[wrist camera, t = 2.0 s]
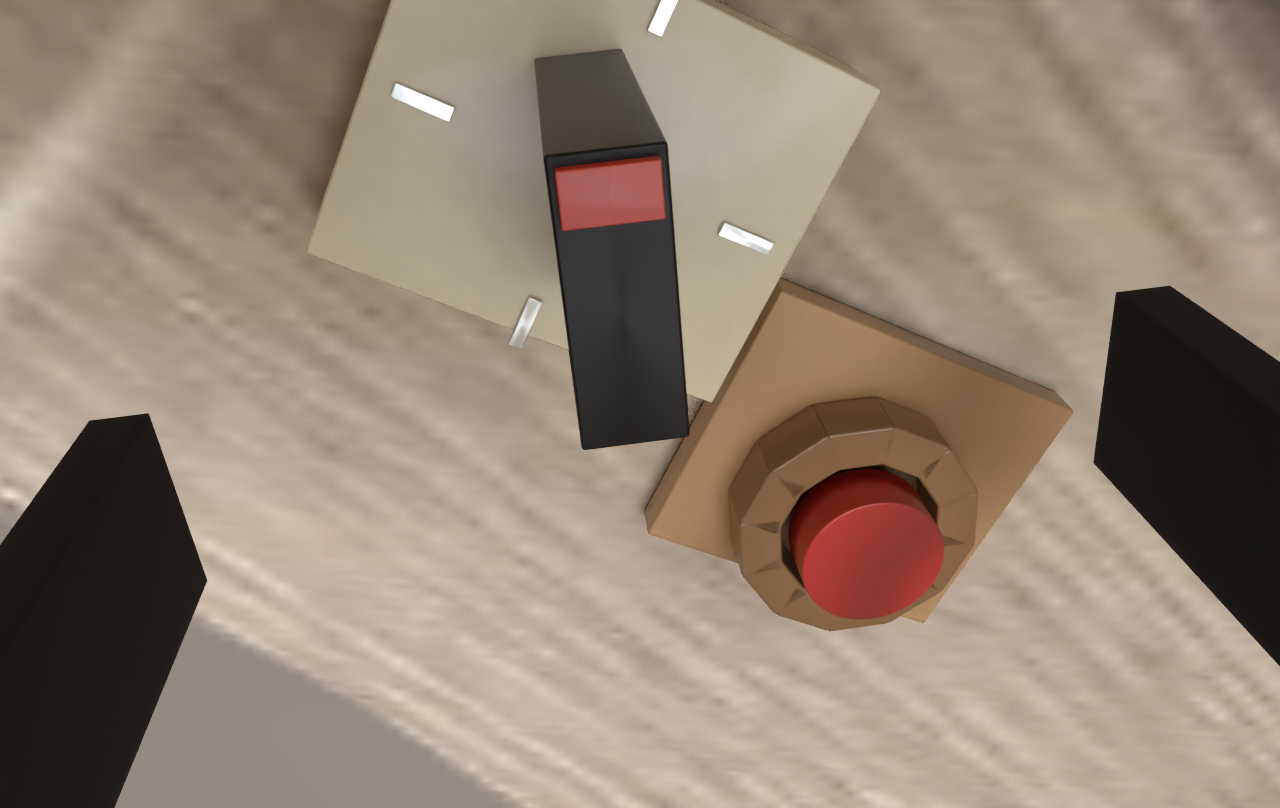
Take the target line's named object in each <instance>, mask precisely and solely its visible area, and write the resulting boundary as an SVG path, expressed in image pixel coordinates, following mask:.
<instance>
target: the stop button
mask: <svg viewBox="0 0 1280 808" xmlns="http://www.w3.org/2000/svg"><path fill="white" fill-rule="evenodd" d="M788 539H789V546H790V550H791V553H792V555H793V558H794V561H795V563H796V566H797V568H798V571H799V574H800V576H801V579H802V582H803V584H804V587H805V589H806V591H807V593H808V595H809V596H810V598H811V599H812V600H813V601H814V602H815V603H816V604H817V605H818V606H819V607H821V608H822V609H823V610H825V611H827V612H829V613H830V614H833V615H835V616H838V617H842V618H846V619H853V620H868V619H875V618H881V617H884V616H888V615H891V614H893V613H896V612H898V611H900V610H902V609H904V608H906V607H908V606H909V605H911V604H912V603H914V602H915V601H916V600H918V599H919V598H920V597H921V596H922V595H923V594H924V593H925V592H926V591H927V590H928V589H929V588H930V587H931V585H932V584H933V583H934V581H935V580H936V578H937V576H938V574H939V572H940V570H941V567H942V563H943V559H944V541H943V537H942V534H941V531H940V529H939V528H938V526H937V524H936V523H935V521H934V519H933V518H932V516H931V514H930V513H929V511H928V509H927V508H926V506H925V504H924V503H923V501H922V499H921V498H920V496H919V494H918V493H917V491H916V490H915V489H914V487H913V486H912V485H911V484H910V483H908V482H907V481H906V480H904V479H903V478H901V477H900V476H898V475H895V474H893V473H890V472H887V471H884V470H878V469H856V470H851V471H847V472H843V473H840V474H837V475H835V476H833V477H830V478H828V479H827V480H825V481H823V482H821V483H820V484H819V485H817V486H816V487H814V488H813V489H812V490H811V491H810V492H809V493H808V494H807V495H806V496H805V497H804V498H803V499H802V500H801V502H800V503H799V505H798V506H797V508H796V510H795V512H794V514H793V516H792V519H791V522H790V526H789V535H788Z"/></svg>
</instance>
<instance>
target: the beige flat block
mask: <svg viewBox="0 0 1280 808" xmlns="http://www.w3.org/2000/svg"><path fill="white" fill-rule="evenodd" d="M615 49H622V50H623V52H624V54H625V56H626V58H627V60H628V62H629V64H630V66H631V69H632V71H633V73H634V75H635V77H636V79H637V81H638V83H639V85H640V87H641V89H642V91H643V94H644V96H645V98H646V100H647V102H648V104H649V106H650V108H651V110H652V112H653V114H654V116H655V119H656V121H657V123H658V125H659V127H660V129H661V131H662V133H663V135H664V137H665V139H666V141H667V144H668V153H669V166H670V179H671V193H672V206H673V219H674V232H675V245H676V259H677V272H678V285H679V298H680V312H681V325H682V338H683V351H684V365H685V378H686V391H687V394H689V395H692V396H694V397H697V398H700V399H703V400H705V401H708V402H712V401H713V400H714V398H715V396H716V394H717V392H718V390H719V389H720V387H721V385H722V383H723V381H724V379H725V378H726V376H727V374H728V372H729V370H730V368H731V367H732V365H733V363H734V361H735V359H736V357H737V356H738V354H739V352H740V350H741V348H742V346H743V345H744V343H745V341H746V339H747V337H748V335H749V334H750V332H751V330H752V328H753V326H754V324H755V323H756V321H757V319H758V317H759V315H760V313H761V312H762V310H763V308H764V306H765V304H766V302H767V301H768V299H769V297H770V295H771V293H772V291H773V290H774V288H775V286H776V284H777V282H778V280H779V279H780V277H781V275H782V273H783V271H784V269H785V268H786V266H787V264H788V262H789V260H790V258H791V257H792V255H793V253H794V251H795V249H796V247H797V246H798V244H799V242H800V240H801V238H802V236H803V235H804V233H805V231H806V229H807V227H808V225H809V224H810V222H811V220H812V218H813V216H814V214H815V213H816V211H817V209H818V207H819V205H820V203H821V202H822V200H823V198H824V196H825V194H826V192H827V191H828V189H829V187H830V185H831V183H832V181H833V180H834V178H835V176H836V174H837V172H838V170H839V169H840V167H841V165H842V163H843V161H844V159H845V158H846V156H847V154H848V152H849V150H850V148H851V147H852V145H853V143H854V141H855V139H856V137H857V136H858V134H859V132H860V130H861V128H862V126H863V125H864V123H865V121H866V119H867V117H868V115H869V114H870V112H871V110H872V108H873V106H874V104H875V103H876V101H877V99H878V97H879V95H880V93H881V91H882V90H881V88H879V87H878V86H877V85H875V84H874V83H873V82H871V81H870V80H868V79H867V78H866V77H864V76H863V75H862V74H860V73H859V72H858V71H856V70H855V69H853V68H852V67H850V66H848V65H846V64H844V63H842V62H840V61H838V60H836V59H834V58H831V57H829V56H827V55H825V54H823V53H821V52H819V51H817V50H815V49H813V48H811V47H809V46H807V45H805V44H803V43H801V42H799V41H797V40H795V39H793V38H791V37H789V36H787V35H785V34H783V33H781V32H778V31H776V30H774V29H772V28H770V27H768V26H766V25H764V24H762V23H760V22H758V21H756V20H754V19H752V18H750V17H748V16H746V15H744V14H742V13H740V12H738V11H736V10H734V9H732V8H730V7H728V6H725V5H723V4H721V3H719V2H717V1H715V0H391V1H390V4H389V7H388V10H387V13H386V16H385V19H384V22H383V25H382V28H381V30H380V33H379V36H378V39H377V42H376V45H375V48H374V51H373V54H372V57H371V60H370V63H369V66H368V69H367V72H366V74H365V77H364V80H363V83H362V86H361V89H360V92H359V95H358V98H357V101H356V104H355V107H354V110H353V113H352V116H351V119H350V121H349V124H348V127H347V130H346V133H345V136H344V139H343V142H342V145H341V148H340V151H339V154H338V157H337V160H336V163H335V165H334V168H333V171H332V174H331V177H330V180H329V183H328V186H327V189H326V192H325V195H324V198H323V201H322V204H321V207H320V209H319V212H318V215H317V218H316V221H315V224H314V227H313V230H312V233H311V236H310V239H309V242H308V245H307V248H306V253H308V254H310V255H313V256H316V257H318V258H321V259H324V260H327V261H329V262H332V263H335V264H337V265H340V266H343V267H346V268H348V269H351V270H354V271H356V272H359V273H362V274H364V275H367V276H370V277H373V278H375V279H378V280H381V281H383V282H386V283H389V284H392V285H394V286H397V287H400V288H402V289H405V290H408V291H410V292H413V293H416V294H419V295H421V296H424V297H427V298H429V299H432V300H435V301H437V302H440V303H443V304H446V305H448V306H451V307H454V308H456V309H459V310H462V311H465V312H467V313H470V314H473V315H475V316H478V317H481V318H483V319H486V320H489V321H492V322H494V323H497V324H500V325H502V326H505V327H508V328H511V329H513V333H512V335H511V337H510V340H509V342H508V345H510V346H513V347H516V348H519V349H522V347H523V345H524V343H525V340H526V338H527V336H528V335H529V336H532V337H535V338H538V339H540V340H543V341H546V342H548V343H551V344H554V345H556V346H559V347H562V348H565V349H567V350H569V348H568V341H567V333H566V326H565V318H564V311H563V303H562V296H561V288H560V281H559V273H558V266H557V258H556V251H555V243H554V236H553V228H552V221H551V213H550V206H549V198H548V191H547V183H546V176H545V168H544V160H543V150H542V140H541V129H540V118H539V107H538V97H537V86H536V75H535V64H534V60H535V59H536V58H543V57H552V56H561V55H570V54H579V53H588V52H597V51H606V50H615Z"/></svg>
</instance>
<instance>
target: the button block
mask: <svg viewBox="0 0 1280 808" xmlns="http://www.w3.org/2000/svg"><path fill="white" fill-rule="evenodd" d="M1072 413H1073V410H1072V409H1071V408H1070V407H1069V406H1068V405H1067V403H1066V402H1065V401H1064V400H1063V399H1062V398H1061V397H1060V396H1059V395H1058V394H1057V393H1056V392H1053V391H1051V390H1048V389H1046V388H1044V387H1041V386H1039V385H1036V384H1034V383H1032V382H1029V381H1027V380H1024V379H1022V378H1020V377H1017V376H1015V375H1012V374H1010V373H1007V372H1005V371H1003V370H1000V369H998V368H995V367H993V366H991V365H988V364H986V363H983V362H981V361H979V360H976V359H974V358H971V357H969V356H967V355H964V354H962V353H959V352H957V351H955V350H952V349H950V348H947V347H945V346H943V345H940V344H938V343H935V342H933V341H931V340H928V339H926V338H923V337H921V336H918V335H916V334H914V333H911V332H909V331H906V330H904V329H902V328H899V327H897V326H894V325H892V324H890V323H887V322H885V321H882V320H880V319H878V318H875V317H873V316H870V315H868V314H866V313H863V312H861V311H858V310H856V309H854V308H851V307H849V306H846V305H844V304H841V303H839V302H837V301H834V300H832V299H829V298H827V297H825V296H822V295H820V294H817V293H815V292H813V291H810V290H808V289H805V288H803V287H801V286H798V285H796V284H793V283H791V282H789V281H786V280H784V279H781V278H780V279H779V280H778V282H777V284H776V286H775V288H774V290H773V291H772V293H771V295H770V297H769V299H768V301H767V302H766V304H765V306H764V308H763V310H762V312H761V313H760V315H759V317H758V319H757V321H756V323H755V324H754V326H753V328H752V330H751V332H750V334H749V335H748V337H747V339H746V341H745V343H744V345H743V346H742V348H741V350H740V352H739V354H738V356H737V357H736V359H735V361H734V363H733V365H732V367H731V368H730V370H729V372H728V374H727V376H726V378H725V379H724V381H723V383H722V385H721V387H720V389H719V390H718V392H717V394H716V396H715V398H714V400H713V401H712V402H708V401H704V403H703V404H702V406H701V408H700V410H699V412H698V414H697V416H696V417H695V419H694V421H693V423H692V425H691V427H690V428H689V431H690V434H689V436H688V437H685V438H684V440H683V441H682V443H681V445H680V447H679V449H678V451H677V452H676V454H675V456H674V458H673V460H672V462H671V464H670V465H669V467H668V469H667V471H666V473H665V475H664V476H663V478H662V480H661V482H660V484H659V486H658V488H657V489H656V491H655V493H654V495H653V497H652V499H651V500H650V502H649V504H648V506H647V508H646V510H645V512H644V514H645V519H646V524H647V530H648V533H649V534H650V535H653V536H656V537H660V538H663V539H666V540H669V541H672V542H675V543H678V544H681V545H684V546H687V547H690V548H693V549H696V550H700V551H703V552H706V553H709V554H712V555H715V556H718V557H721V558H724V559H727V560H730V561H733V562H737V563H739V567H740V570H741V573H742V575H743V577H744V578H745V580H746V581H747V582H748V583H749V584H750V585H751V587H752V588H753V589H754V590H755V591H756V593H757V594H758V595H759V596H760V597H761V598H762V600H763V601H764V602H765V603H766V604H767V605H768V607H769V608H770V609H771V610H772V611H773V612H774V613H776V614H777V615H779V616H783V617H786V618H789V619H792V620H795V621H799V622H802V623H805V624H808V625H811V626H815V627H818V628H821V629H824V630H828V631H835V630H842V629H849V628H857V627H864V626H871V625H878V624H885V623H888V622H891V621H893V620H894V619H896V618H898V617H900V616H903V617H906V618H909V619H912V620H915V621H918V622H921V623H923V622H925V620H926V619H927V618H928V616H929V615H930V613H931V612H932V610H933V609H934V608H935V606H936V605H937V603H938V602H939V601H940V599H941V598H942V596H943V595H944V594H945V592H946V591H947V589H948V588H949V587H950V585H951V584H952V582H953V581H954V580H955V578H956V577H957V575H958V574H959V572H960V571H961V570H962V568H963V567H964V565H965V564H966V563H967V561H968V560H969V558H970V557H971V556H972V554H973V553H974V551H975V550H976V549H977V547H978V546H979V544H980V543H981V541H982V540H983V539H984V537H985V536H986V534H987V533H988V532H989V530H990V529H991V527H992V526H993V525H994V523H995V522H996V520H997V519H998V518H999V516H1000V515H1001V513H1002V512H1003V510H1004V509H1005V508H1006V506H1007V505H1008V503H1009V502H1010V501H1011V499H1012V498H1013V496H1014V495H1015V494H1016V492H1017V491H1018V489H1019V488H1020V487H1021V485H1022V484H1023V482H1024V481H1025V479H1026V478H1027V477H1028V475H1029V474H1030V472H1031V471H1032V470H1033V468H1034V467H1035V465H1036V464H1037V463H1038V461H1039V460H1040V458H1041V457H1042V456H1043V454H1044V453H1045V451H1046V450H1047V449H1048V447H1049V446H1050V444H1051V443H1052V441H1053V440H1054V439H1055V437H1056V436H1057V434H1058V433H1059V432H1060V430H1061V429H1062V427H1063V426H1064V425H1065V423H1066V422H1067V420H1068V419H1069V418H1070V416H1071V415H1072ZM856 469H878V470H884V471H887V472H890V473H893V474H895V475H898V476H900V477H901V478H903V479H904V480H906V481H907V482H908V483H910V484H911V485H912V486H913V487H914V489H915V490H916V491H917V493H918V494H919V496H920V498H921V499H922V501H923V503H924V504H925V506H926V508H927V509H928V511H929V513H930V514H931V516H932V518H933V519H934V521H935V523H936V524H937V526H938V528H939V529H940V531H941V534H942V537H943V541H944V559H943V563H942V567H941V570H940V572H939V574H938V576H937V578H936V580H935V581H934V583H933V584H932V585H931V587H930V588H929V589H928V590H927V591H926V592H925V593H924V594H923V595H922V596H921V597H920V598H919V599H918V600H916V601H915V602H914V603H912V604H911V605H909V606H908V607H906V608H904V609H902V610H900V611H898V612H896V613H893V614H891V615H888V616H884V617H881V618H875V619H868V620H853V619H846V618H842V617H838V616H835V615H833V614H830V613H829V612H827V611H825V610H823V609H822V608H821V607H819V606H818V605H817V604H816V603H815V602H814V601H813V600H812V599H811V598H810V596H809V595H808V593H807V591H806V589H805V587H804V584H803V582H802V579H801V576H800V574H799V571H798V568H797V566H796V563H795V561H794V558H793V555H792V553H791V550H790V546H789V539H788V535H789V526H790V522H791V519H792V516H793V514H794V512H795V510H796V508H797V506H798V505H799V503H800V502H801V500H802V499H803V498H804V497H805V496H806V495H807V494H808V493H809V492H810V491H811V490H812V489H813V488H814V487H816V486H817V485H819V484H820V483H821V482H823V481H825V480H827V479H828V478H830V477H833V476H835V475H837V474H840V473H843V472H847V471H851V470H856Z"/></svg>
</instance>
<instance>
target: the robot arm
mask: <svg viewBox="0 0 1280 808" xmlns="http://www.w3.org/2000/svg"><path fill="white" fill-rule="evenodd" d="M1094 464H1095V465H1096V466H1097V467H1098V468H1099V469H1100V470H1101V471H1102V473H1103V474H1104V475H1105V476H1106V477H1107V478H1108V479H1109V480H1110V481H1111V482H1112V483H1113V485H1114V486H1115V487H1116V488H1117V489H1118V490H1119V491H1120V492H1121V493H1122V494H1123V496H1124V497H1125V498H1126V499H1127V500H1128V501H1129V502H1130V503H1131V504H1132V505H1133V506H1134V508H1135V509H1136V510H1137V511H1138V512H1139V513H1140V514H1141V515H1142V516H1143V517H1144V518H1145V520H1146V521H1147V522H1148V523H1149V524H1150V525H1151V526H1152V527H1153V528H1154V529H1155V530H1156V532H1157V533H1158V534H1159V535H1160V536H1161V537H1162V538H1163V539H1164V540H1165V541H1166V542H1167V544H1168V545H1169V546H1170V547H1171V548H1172V549H1173V550H1174V551H1175V552H1176V553H1177V554H1178V556H1179V557H1180V558H1181V559H1182V560H1183V561H1184V562H1185V563H1186V564H1187V565H1188V566H1189V568H1190V569H1191V570H1192V571H1193V572H1194V573H1195V574H1196V575H1197V576H1198V577H1199V578H1200V580H1201V581H1202V582H1203V583H1204V584H1205V585H1206V586H1207V587H1208V588H1209V589H1210V590H1211V592H1212V593H1213V594H1214V595H1215V596H1216V597H1217V598H1218V599H1219V600H1220V601H1221V602H1222V604H1223V605H1224V606H1225V607H1226V608H1227V609H1228V610H1229V611H1230V612H1231V613H1232V614H1233V616H1234V617H1235V618H1236V619H1237V620H1238V621H1239V622H1240V623H1241V624H1242V625H1243V627H1244V628H1245V629H1246V630H1247V631H1248V632H1249V633H1250V634H1251V635H1252V636H1253V637H1254V639H1255V640H1256V641H1257V642H1258V643H1259V644H1260V645H1261V646H1262V647H1263V648H1264V649H1265V651H1266V652H1267V653H1268V654H1269V655H1270V656H1271V657H1272V658H1273V659H1274V660H1275V661H1276V663H1277V664H1278V665H1279V666H1280V362H1279V361H1278V360H1276V359H1275V358H1273V357H1272V356H1270V355H1269V354H1267V353H1266V352H1265V351H1263V350H1262V349H1260V348H1259V347H1257V346H1256V345H1255V344H1253V343H1252V342H1250V341H1249V340H1247V339H1246V338H1244V337H1243V336H1242V335H1240V334H1239V333H1237V332H1236V331H1234V330H1233V329H1231V328H1230V327H1229V326H1227V325H1226V324H1224V323H1223V322H1221V321H1220V320H1219V319H1217V318H1216V317H1214V316H1213V315H1211V314H1210V313H1208V312H1207V311H1206V310H1204V309H1203V308H1201V307H1200V306H1198V305H1197V304H1196V303H1194V302H1193V301H1191V300H1190V299H1188V298H1187V297H1185V296H1184V295H1183V294H1181V293H1180V292H1178V291H1177V290H1175V289H1174V288H1172V287H1171V286H1164V287H1156V288H1148V289H1140V290H1132V291H1124V292H1116V297H1115V305H1114V312H1113V320H1112V327H1111V335H1110V342H1109V350H1108V357H1107V365H1106V372H1105V380H1104V387H1103V395H1102V403H1101V410H1100V418H1099V425H1098V433H1097V440H1096V448H1095V455H1094ZM206 582H207V579H206V576H205V573H204V570H203V567H202V564H201V561H200V559H199V556H198V553H197V550H196V547H195V544H194V541H193V539H192V536H191V533H190V530H189V527H188V524H187V522H186V519H185V516H184V513H183V510H182V507H181V504H180V502H179V499H178V496H177V493H176V490H175V487H174V484H173V482H172V479H171V476H170V473H169V470H168V467H167V464H166V462H165V459H164V456H163V453H162V450H161V447H160V444H159V442H158V439H157V436H156V433H155V430H154V427H153V424H152V422H151V419H150V416H149V413H148V414H140V415H132V416H124V417H116V418H108V419H100V420H92V421H89V422H88V424H87V425H86V426H85V428H84V429H83V430H82V432H81V433H80V435H79V436H78V437H77V439H76V440H75V442H74V443H73V444H72V446H71V447H70V449H69V450H68V451H67V453H66V454H65V456H64V457H63V458H62V460H61V461H60V463H59V464H58V465H57V467H56V468H55V469H54V471H53V472H52V474H51V475H50V476H49V478H48V479H47V481H46V482H45V483H44V485H43V486H42V488H41V489H40V490H39V492H38V493H37V495H36V496H35V497H34V499H33V500H32V502H31V503H30V504H29V506H28V507H27V508H26V510H25V511H24V513H23V514H22V515H21V517H20V518H19V520H18V521H17V522H16V524H15V525H14V527H13V528H12V529H11V531H10V532H9V534H8V535H7V536H6V538H5V539H4V541H3V542H2V543H1V545H0V808H114V807H115V805H116V802H117V800H118V797H119V795H120V793H121V790H122V788H123V785H124V783H125V780H126V778H127V776H128V773H129V771H130V768H131V765H132V763H133V761H134V758H135V756H136V753H137V751H138V749H139V746H140V744H141V741H142V739H143V736H144V734H145V731H146V729H147V726H148V724H149V722H150V719H151V717H152V714H153V712H154V709H155V707H156V705H157V702H158V699H159V697H160V695H161V692H162V690H163V687H164V685H165V683H166V680H167V677H168V675H169V673H170V670H171V668H172V665H173V663H174V660H175V658H176V656H177V653H178V651H179V648H180V646H181V643H182V641H183V638H184V636H185V634H186V631H187V629H188V626H189V624H190V621H191V619H192V616H193V614H194V612H195V609H196V607H197V604H198V602H199V599H200V597H201V594H202V592H203V589H204V587H205V585H206Z"/></svg>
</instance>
